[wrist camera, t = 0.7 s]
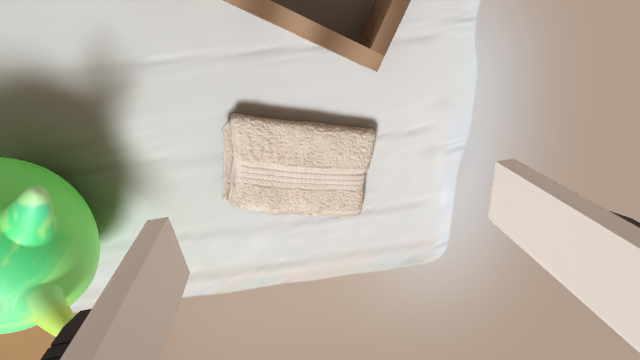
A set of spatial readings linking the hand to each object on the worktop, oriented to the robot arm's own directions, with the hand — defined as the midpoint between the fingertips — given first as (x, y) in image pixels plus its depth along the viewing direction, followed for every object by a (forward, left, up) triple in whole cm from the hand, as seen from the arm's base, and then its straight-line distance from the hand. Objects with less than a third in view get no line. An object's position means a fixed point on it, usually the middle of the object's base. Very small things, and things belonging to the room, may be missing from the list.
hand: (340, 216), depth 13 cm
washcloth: (+7, -5, -27) cm, 28 cm away
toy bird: (-7, -31, -26) cm, 41 cm away
